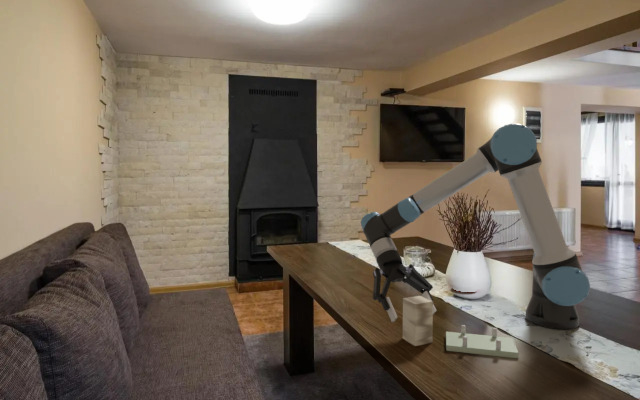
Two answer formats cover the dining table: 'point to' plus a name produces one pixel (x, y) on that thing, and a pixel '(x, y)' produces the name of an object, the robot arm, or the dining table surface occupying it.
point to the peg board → (481, 344)
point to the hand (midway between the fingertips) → (414, 316)
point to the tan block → (417, 320)
